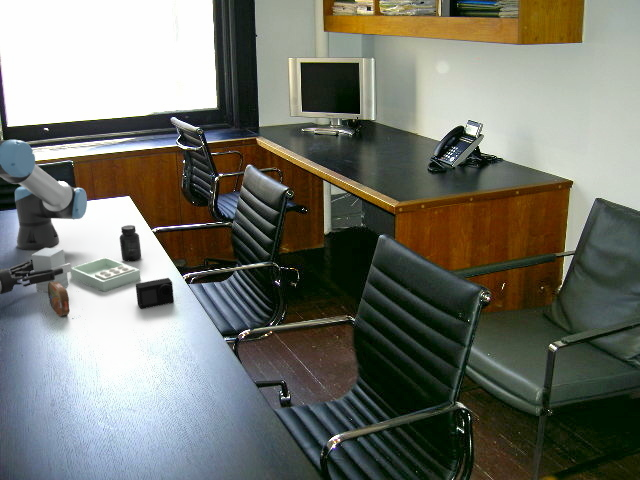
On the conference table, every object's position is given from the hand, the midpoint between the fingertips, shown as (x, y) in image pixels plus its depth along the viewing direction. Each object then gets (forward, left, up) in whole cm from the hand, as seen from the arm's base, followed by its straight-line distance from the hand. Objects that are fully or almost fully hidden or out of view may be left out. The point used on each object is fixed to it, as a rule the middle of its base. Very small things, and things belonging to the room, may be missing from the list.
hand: (62, 263), depth 257 cm
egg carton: (+12, +12, -7) cm, 18 cm away
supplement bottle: (-4, +29, -8) cm, 30 cm away
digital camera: (+37, +10, -8) cm, 39 cm away
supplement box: (0, -4, -7) cm, 9 cm away
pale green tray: (+6, +12, -7) cm, 15 cm away
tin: (+19, -12, -8) cm, 24 cm away
